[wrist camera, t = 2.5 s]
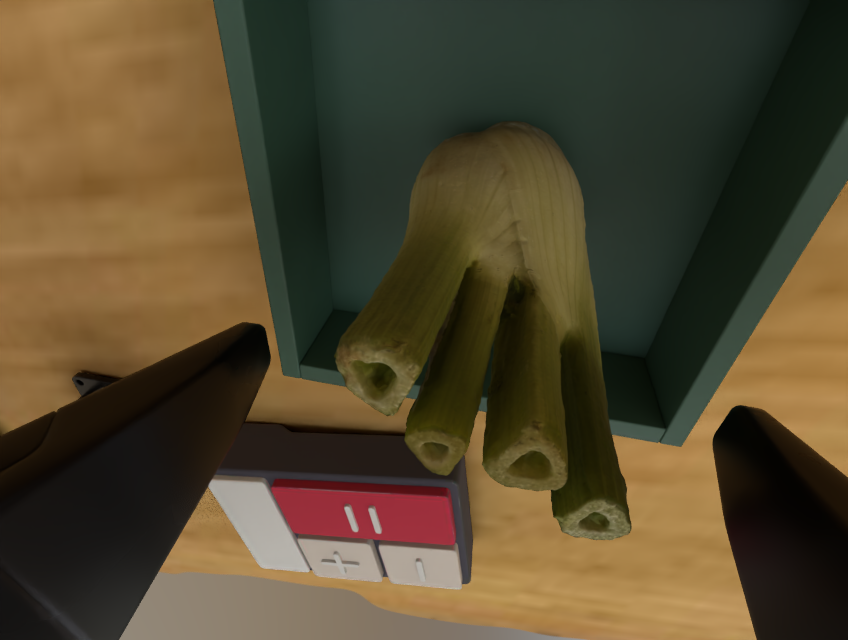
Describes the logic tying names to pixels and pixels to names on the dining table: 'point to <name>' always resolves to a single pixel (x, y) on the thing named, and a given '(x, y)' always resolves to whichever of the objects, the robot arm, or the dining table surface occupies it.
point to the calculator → (346, 507)
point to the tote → (580, 143)
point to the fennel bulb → (497, 326)
